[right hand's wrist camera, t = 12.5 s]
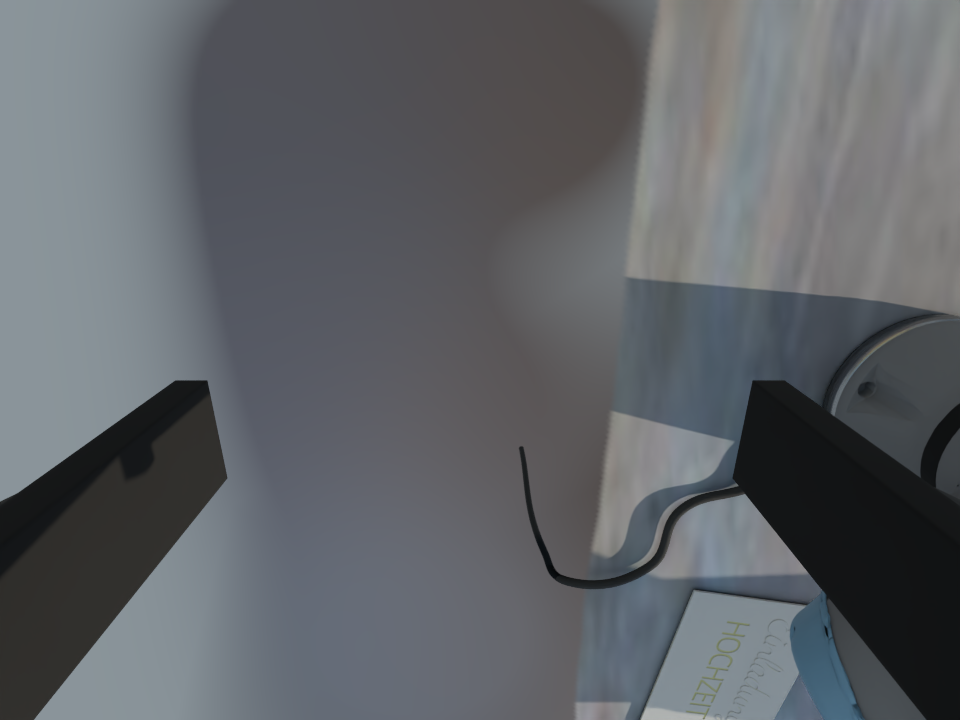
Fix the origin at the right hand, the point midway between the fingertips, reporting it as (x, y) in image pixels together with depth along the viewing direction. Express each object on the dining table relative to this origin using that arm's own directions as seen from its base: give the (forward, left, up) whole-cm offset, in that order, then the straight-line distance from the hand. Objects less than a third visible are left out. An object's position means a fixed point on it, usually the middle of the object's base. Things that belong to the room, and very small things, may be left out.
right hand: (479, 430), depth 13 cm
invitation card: (+4, -54, -30) cm, 61 cm away
